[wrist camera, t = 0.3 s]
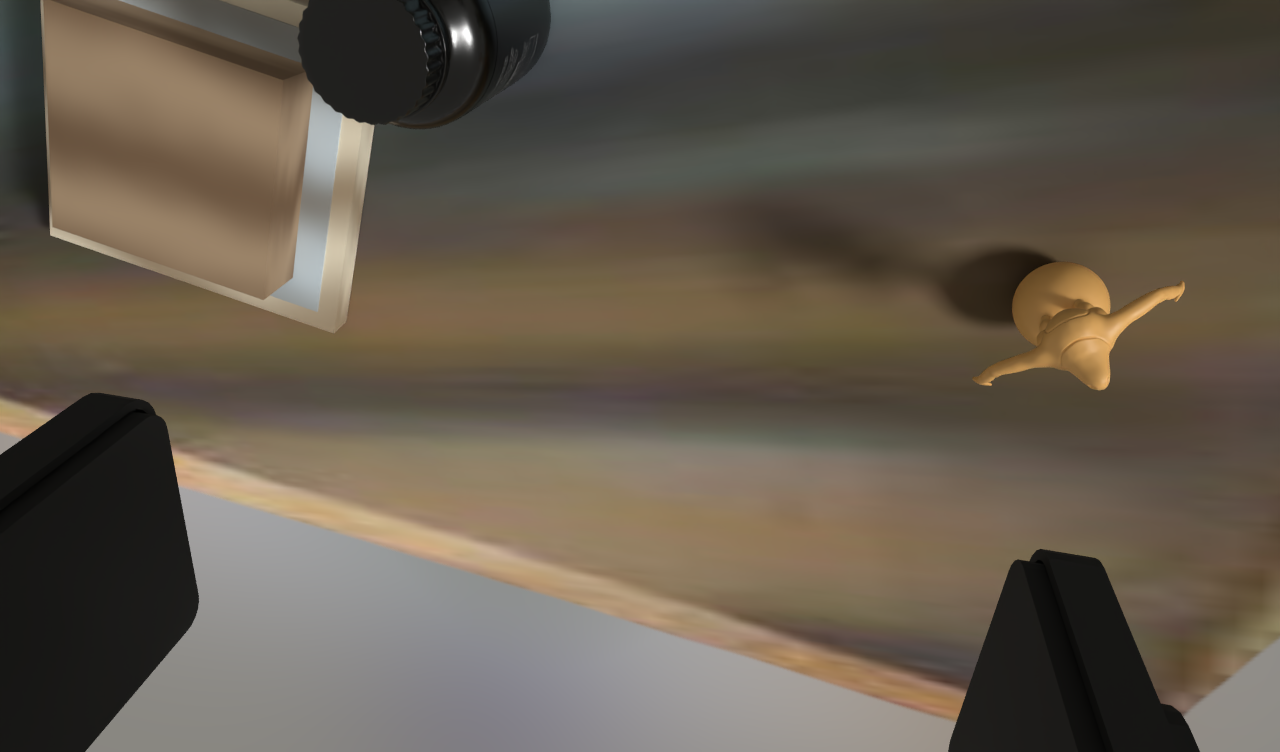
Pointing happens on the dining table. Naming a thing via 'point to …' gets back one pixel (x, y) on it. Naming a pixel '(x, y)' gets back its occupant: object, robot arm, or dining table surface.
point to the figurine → (1071, 322)
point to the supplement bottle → (418, 55)
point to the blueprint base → (203, 150)
